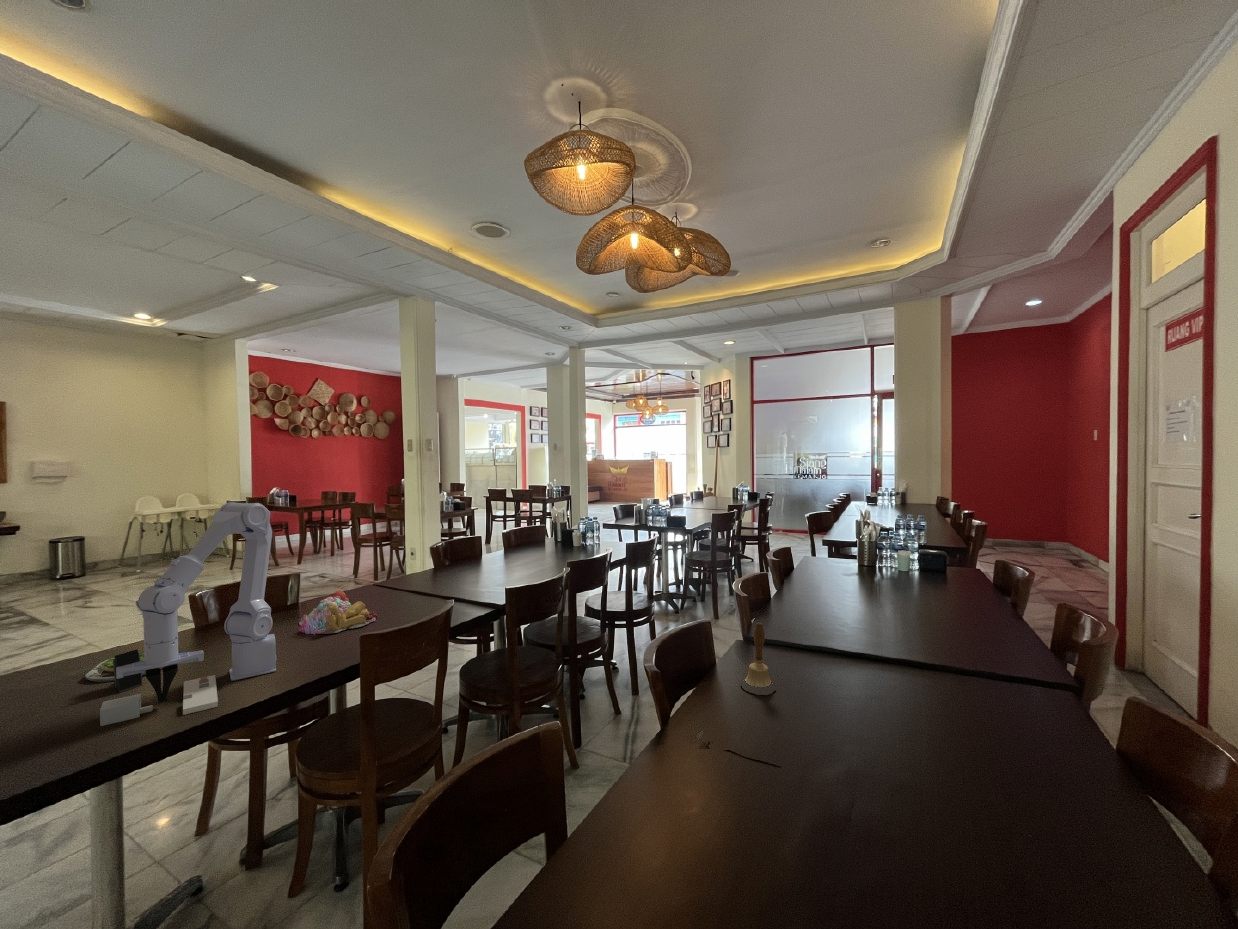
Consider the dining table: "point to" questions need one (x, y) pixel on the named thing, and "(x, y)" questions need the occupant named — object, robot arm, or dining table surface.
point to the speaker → (129, 680)
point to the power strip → (200, 694)
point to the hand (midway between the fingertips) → (162, 700)
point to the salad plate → (108, 670)
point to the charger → (122, 709)
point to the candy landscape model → (336, 615)
